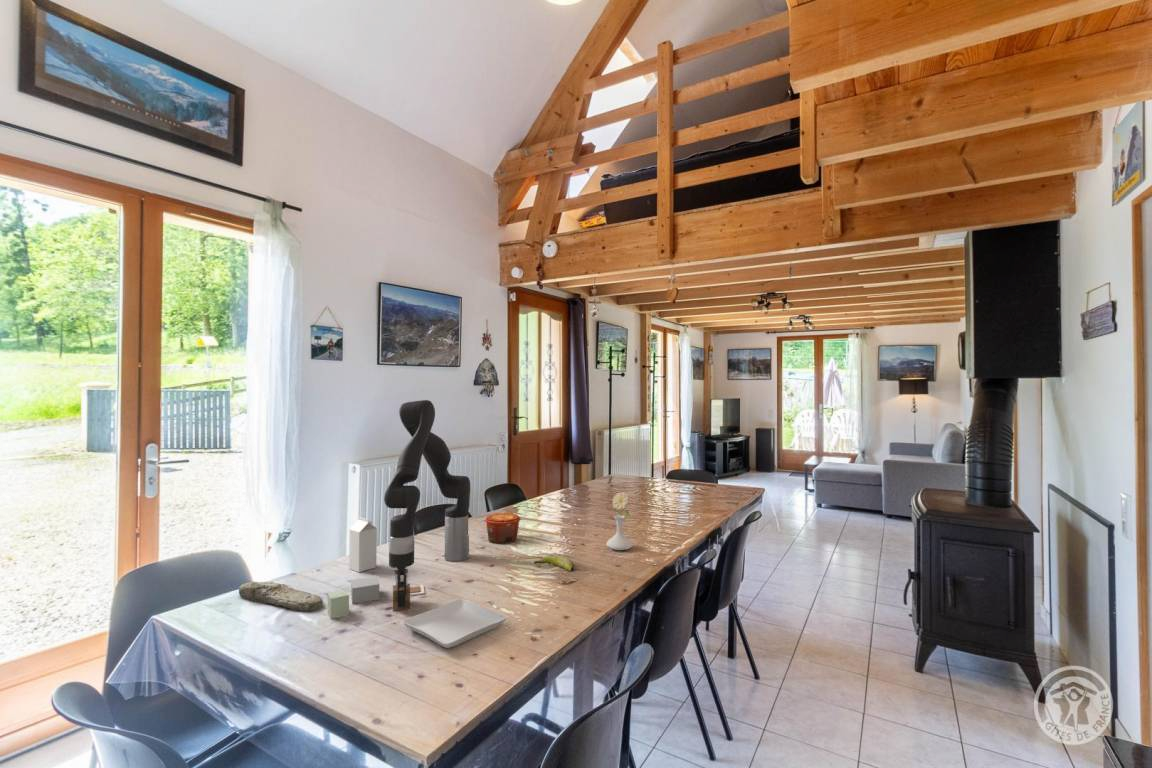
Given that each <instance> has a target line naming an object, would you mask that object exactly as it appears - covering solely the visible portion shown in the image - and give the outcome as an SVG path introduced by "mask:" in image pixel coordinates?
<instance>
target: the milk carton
mask: <svg viewBox="0 0 1152 768" xmlns="http://www.w3.org/2000/svg"><path fill="white" fill-rule="evenodd" d="M357 518H358V519H357V520H356V521H355V523H353V524H352V526H350V528H349V541H348V542H349V547H348V548H349V551H348V553H349V554H348V558H349V559H348V562H349V563H348V568H349V570H352V571H355V572H357V573H361V572H364V571H368V570H371V569H375V568H377V552H378V551H377V549H378V548H377V544H378V543H377V542H378V540H377V539H378V538H377V537H378V534H377V533H378V528H377V527H376V526H374V525H373V522H372V520H369V519H368V518H366V517H360V516H358V517H357Z"/></svg>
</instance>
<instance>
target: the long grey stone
mask: <svg viewBox="0 0 1152 768" xmlns="http://www.w3.org/2000/svg"><path fill="white" fill-rule="evenodd" d="M238 594H239V595H241V596H243V597H244V598H246V599H249V600H251V601H252V602H256V603H258V602H261V603H263V604H264V603H265V604H271V605H272V604H273V605H275V606H276V607H284V608H287V609H290V610H294V611H301V612H302V611H303V612H305V611H306V612H312V611H316V610H319V609H321V608H323V606H324V605H323V604H324V601H323V598H322V597H320V596H319V595H318V594H312V593H310V592H306V591H303V590H298V589H295V588H292V587H291V586H288V585H286V584H285V583H278V582H277V583H276V582H273V581H271V582H264V581H260V582H258V581H251V582H245V583H243V584H241V585H240V586H239V587H238Z"/></svg>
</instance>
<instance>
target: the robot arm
mask: <svg viewBox="0 0 1152 768" xmlns="http://www.w3.org/2000/svg"><path fill="white" fill-rule="evenodd" d="M398 412H399V413H398V414H399V418H400V421H401V423H402V425H403V426H404V429H406V431H407V432H408V433H409V435H410V437H411V439H410V440H409V441H408V443H407V444H406V445H405V446H404V447H403V449H402V450H401V452H400V454H399V456H398V461H397V465H396V470H395V474H394V476H393V478H392V479H391V481H390V483H389V485H388V486H387V489H386V490H385V493H384V496H383V501H384V504H385V506H386V507H387V508H389V509H406V511H405V513H403V514H398V515H394V516H393V517H391V519H390V521H389V522H390V523H389V532H390V533H389V541H388V566H389V567H390V568H393V569H395V570H394V579H395V585H396V588H397V596H398V608H401V607H405V595H406V593H407V591H406V587H407V584H409V582H408V581H409V580H408V578H409V568H408V567H411V566H413V565H414V563H415V531H414V530H415V517H416V512H417V509H418V505H419V502H420V499H421V491H420V489H419V487H418V486H416V485H407V484H408V483H413V482H415V481H417V479H418V477H419V473H420V467H421V463H422V462H421V461H422V456H423V458H424V460H425V462H426V463H427V465H428V467H430V470H431V471H432V473H433V476H434V478H435V481H436V483H437V486H438V488H439V490H440V493H441V495H442V497H444V498H446V499H454V500H456V503H455V504H454V505H451V506H448V507H446V509H445V510H444V560H445V561H448V562H460V561H464V560H468V559H470V534H469V510H470V500H471V498H470V497H471V480H470V478H469V477H468V476H465V475H455V474H454V475H453V474H451V473H450V472H449V471H448V467H449V466H450V462H451V457H452V456H451V455H452V453H451V451H450V449H449V447H448V446H447V444H446V442H445V441H444V439H443V438H441V437H440V436H438V435H437V434H436V433H434V432H432V429H433V426H434V422H435V418H436V408H435V406H434V404H433V402H432V401H431V400H428V399H421V400H414V401H413V400H412V401H407V402H403V403H402V404H401V405H400V407H399V409H398ZM402 587H404V591H399V588H402Z"/></svg>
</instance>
